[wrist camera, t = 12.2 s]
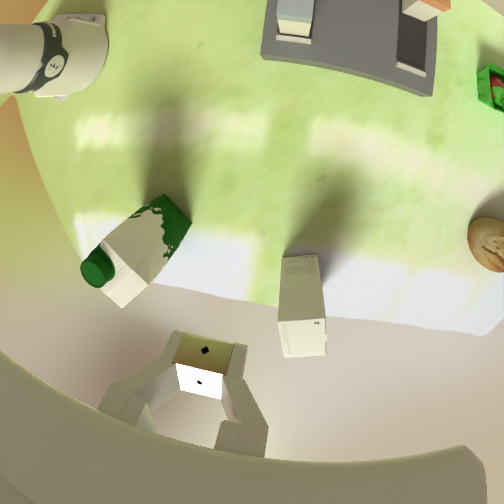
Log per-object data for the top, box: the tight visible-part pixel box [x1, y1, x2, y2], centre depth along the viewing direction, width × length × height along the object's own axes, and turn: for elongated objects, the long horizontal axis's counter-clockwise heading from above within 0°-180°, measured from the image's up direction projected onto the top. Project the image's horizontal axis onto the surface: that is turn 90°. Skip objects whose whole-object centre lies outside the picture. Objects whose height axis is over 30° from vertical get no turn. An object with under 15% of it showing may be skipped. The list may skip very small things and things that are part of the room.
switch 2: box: [402, 0, 451, 22], centre depth 17 cm, size 4×3×8 cm
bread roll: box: [467, 217, 504, 272], centre depth 35 cm, size 10×15×8 cm, turn 82°
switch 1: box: [276, 0, 314, 37], centre depth 22 cm, size 4×3×8 cm
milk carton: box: [80, 194, 192, 308], centre depth 38 cm, size 9×9×20 cm
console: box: [260, 0, 437, 96], centre depth 24 cm, size 24×18×5 cm
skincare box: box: [277, 254, 327, 358], centre depth 42 cm, size 8×7×16 cm
